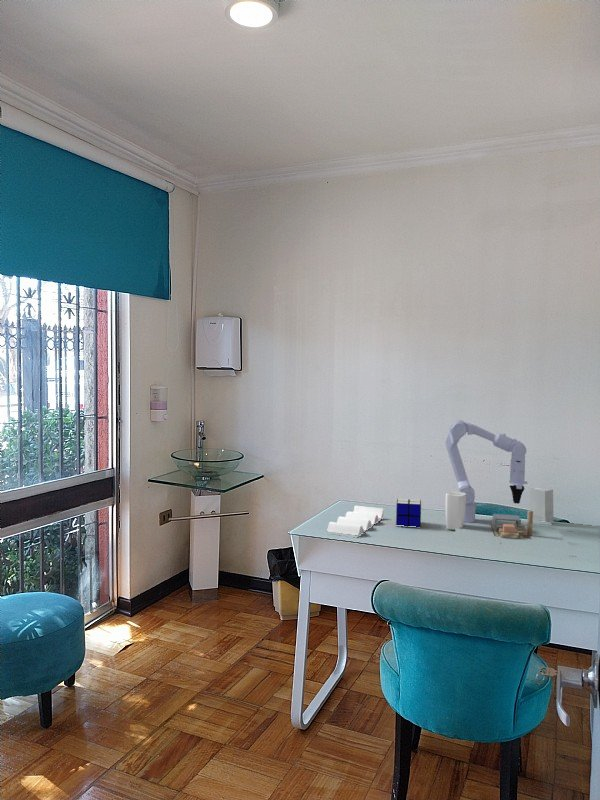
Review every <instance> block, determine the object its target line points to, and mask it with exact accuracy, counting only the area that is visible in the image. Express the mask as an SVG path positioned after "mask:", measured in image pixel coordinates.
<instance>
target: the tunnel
mask: <svg viewBox="0 0 600 800" xmlns="http://www.w3.org/2000/svg"><path fill="white" fill-rule="evenodd" d="M498 521H505V522H506V521H507V522H515V525H517V527H518V528H521V526H522V524H521V523H522V519H521V518H520V516H519V515H518V514H517V515H516V514H515V515H514V514H504V513H503V514H501V513H500V514H499V513H492V521H491V524H492V527H493V530H494V532H497V527H498V525H497V524H498Z"/></svg>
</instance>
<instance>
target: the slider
mask: <svg viewBox="0 0 600 800" xmlns="http://www.w3.org/2000/svg"><path fill="white" fill-rule="evenodd" d="M533 523H534V521H533V511H530V510H527V517H526V530H527V532H524V531H517V530H515V533H503V529H499V533H501V537H500V538H509V539H510V538H513V539H520V538H519V534H522V535H529V536H533Z"/></svg>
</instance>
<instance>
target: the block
mask: <svg viewBox="0 0 600 800" xmlns="http://www.w3.org/2000/svg"><path fill="white" fill-rule="evenodd" d="M514 525H515V524H511V523H508V524H507V523H503V525H502V527H503V533H515V526H514Z"/></svg>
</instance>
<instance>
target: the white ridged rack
mask: <svg viewBox="0 0 600 800" xmlns="http://www.w3.org/2000/svg"><path fill="white" fill-rule="evenodd" d="M382 517H383V518H384V508H381V507H371V506H363V505H361V506H360V505H354V508H353V511H349V510H347V512H346V513H345V516H342V515H341V516H338V517H337V520H336V522H335V521H329V523H328V525H327V529H326V532H334V533H341V534H348V535H355V536H359V535H360V534H361V533H363V532H364V530H367V529H368V528H369V527H371V526H372V524H374V523H376V522H377V521H378V520H379V518H382ZM363 534H364V533H363ZM359 537H360V536H359Z"/></svg>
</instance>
